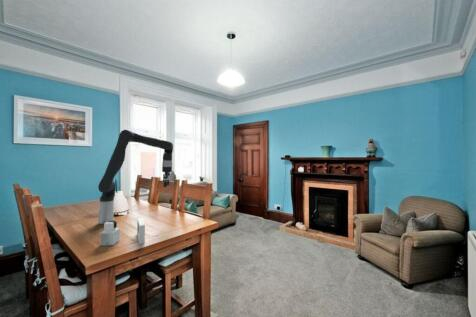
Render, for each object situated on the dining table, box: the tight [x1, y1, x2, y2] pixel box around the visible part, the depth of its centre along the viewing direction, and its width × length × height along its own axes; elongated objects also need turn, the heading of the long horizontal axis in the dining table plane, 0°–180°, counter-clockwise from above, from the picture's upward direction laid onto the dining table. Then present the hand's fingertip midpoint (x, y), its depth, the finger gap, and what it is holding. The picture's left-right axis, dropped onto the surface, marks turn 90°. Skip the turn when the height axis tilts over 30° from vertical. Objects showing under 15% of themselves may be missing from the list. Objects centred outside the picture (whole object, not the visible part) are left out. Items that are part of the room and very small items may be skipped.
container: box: [99, 220, 121, 246], centre depth 129 cm, size 8×8×13 cm
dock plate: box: [136, 217, 146, 245], centre depth 137 cm, size 3×18×11 cm, turn 29°
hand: (166, 186), depth 171 cm, fingers open, 8 cm apart
